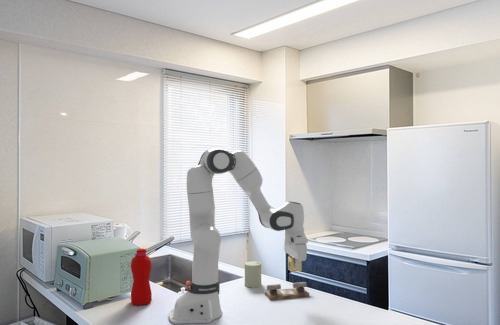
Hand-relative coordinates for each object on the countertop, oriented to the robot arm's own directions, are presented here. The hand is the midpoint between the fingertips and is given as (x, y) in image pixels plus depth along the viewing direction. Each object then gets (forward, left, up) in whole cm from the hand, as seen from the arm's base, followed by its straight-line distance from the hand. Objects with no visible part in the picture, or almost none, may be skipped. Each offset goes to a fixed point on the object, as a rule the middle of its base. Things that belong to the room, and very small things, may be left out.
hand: (294, 266), depth 178 cm
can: (-12, +31, -17) cm, 37 cm away
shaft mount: (0, +11, -17) cm, 20 cm away
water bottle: (-70, +19, -17) cm, 74 cm away
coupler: (0, 0, -2) cm, 2 cm away
